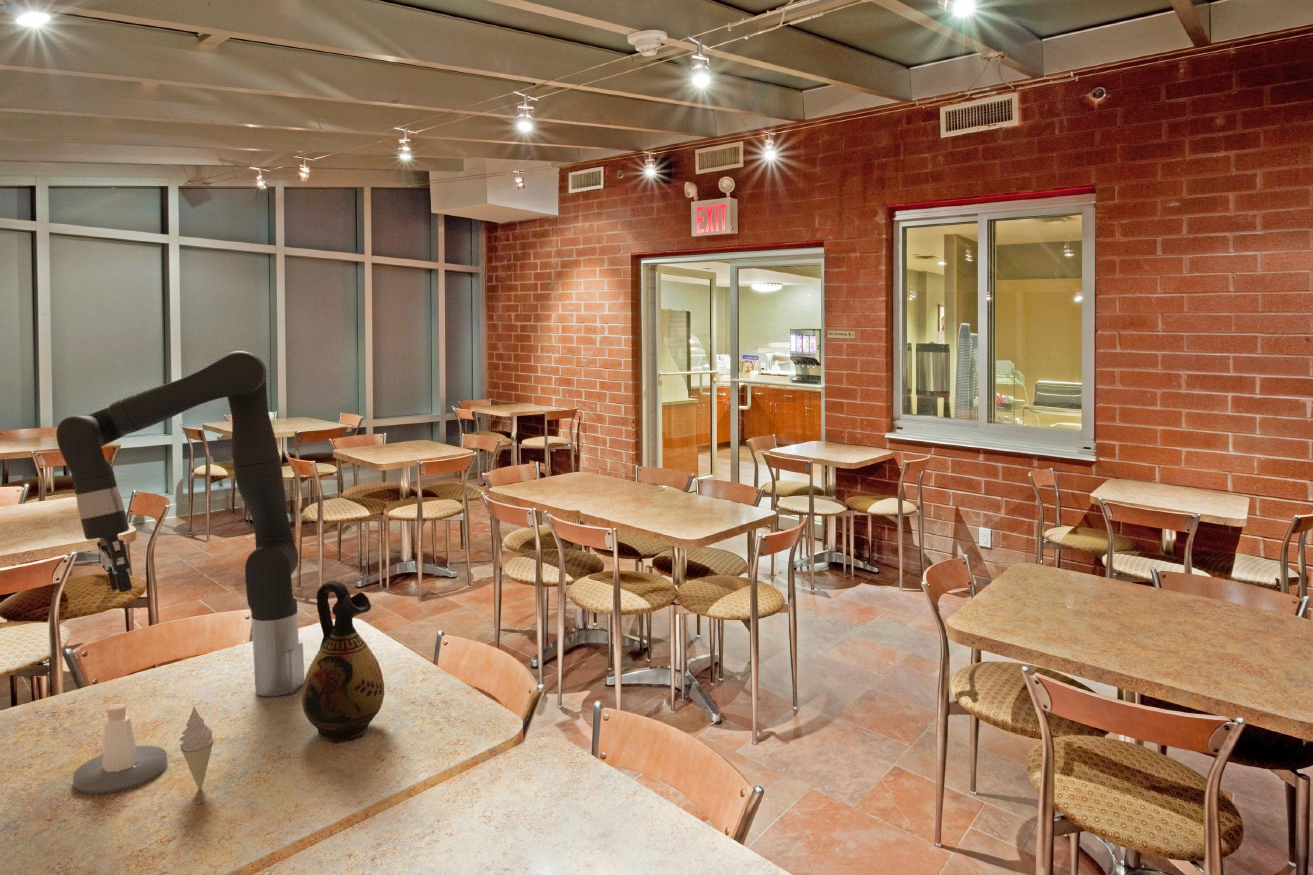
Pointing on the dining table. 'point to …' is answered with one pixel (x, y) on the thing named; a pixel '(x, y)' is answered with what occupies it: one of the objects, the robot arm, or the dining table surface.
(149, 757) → the grey round coaster
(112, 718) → the pepper shaker
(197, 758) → the ice cream cone
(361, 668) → the ceramic jug
